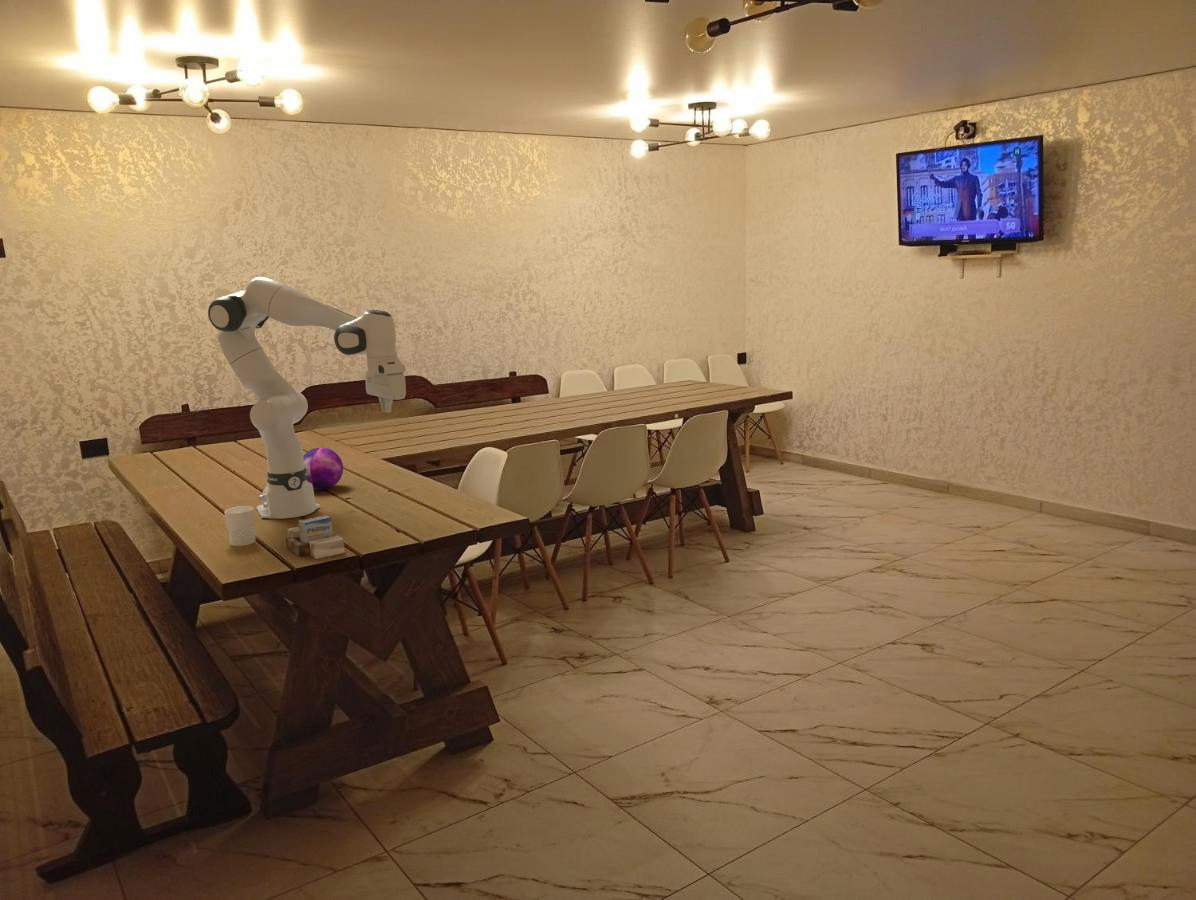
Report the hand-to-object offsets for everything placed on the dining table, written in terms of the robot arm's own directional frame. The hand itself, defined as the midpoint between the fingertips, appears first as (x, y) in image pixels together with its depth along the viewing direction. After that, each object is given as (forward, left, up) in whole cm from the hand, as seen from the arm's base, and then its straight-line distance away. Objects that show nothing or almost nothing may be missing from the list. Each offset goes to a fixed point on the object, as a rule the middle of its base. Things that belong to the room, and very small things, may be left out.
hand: (386, 412), depth 269 cm
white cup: (-13, -42, -34) cm, 56 cm away
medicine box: (+8, -28, -34) cm, 45 cm away
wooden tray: (+7, -28, -34) cm, 45 cm away
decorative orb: (-59, 0, -34) cm, 68 cm away
